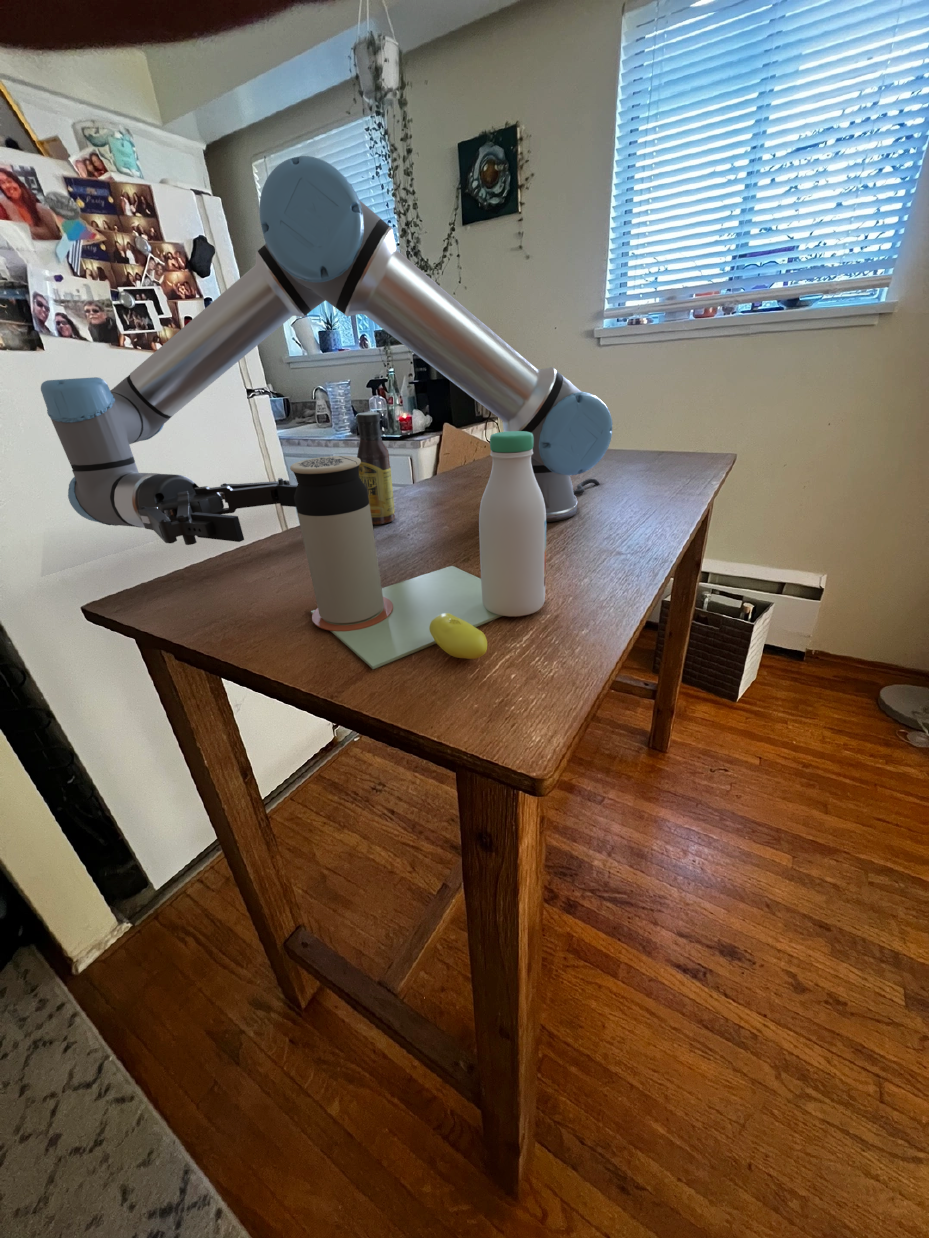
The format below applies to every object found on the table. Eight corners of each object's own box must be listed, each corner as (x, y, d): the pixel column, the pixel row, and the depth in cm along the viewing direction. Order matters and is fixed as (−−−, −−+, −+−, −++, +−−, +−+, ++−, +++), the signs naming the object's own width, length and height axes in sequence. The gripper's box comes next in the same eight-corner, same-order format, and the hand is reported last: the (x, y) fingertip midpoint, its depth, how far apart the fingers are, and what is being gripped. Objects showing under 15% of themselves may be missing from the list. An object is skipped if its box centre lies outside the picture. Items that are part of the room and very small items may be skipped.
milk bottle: (542, 619, 58) (546, 437, 49) (477, 616, 59) (468, 440, 50) (546, 591, 64) (550, 427, 55) (487, 589, 66) (481, 429, 57)
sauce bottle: (357, 522, 99) (340, 414, 89) (382, 515, 103) (368, 410, 93) (378, 528, 95) (362, 415, 85) (403, 520, 99) (391, 411, 89)
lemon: (451, 629, 57) (450, 599, 55) (497, 661, 51) (497, 628, 49) (420, 642, 55) (417, 611, 53) (465, 676, 49) (464, 643, 47)
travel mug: (326, 631, 58) (292, 473, 49) (314, 605, 64) (283, 461, 56) (392, 615, 61) (370, 462, 52) (374, 592, 67) (353, 452, 59)
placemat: (448, 566, 76) (447, 562, 75) (530, 604, 62) (530, 600, 62) (300, 613, 64) (299, 609, 64) (364, 673, 51) (363, 668, 50)
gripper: (240, 505, 80) (349, 513, 72) (80, 560, 60) (206, 580, 52) (227, 456, 76) (340, 459, 68) (53, 498, 57) (183, 509, 48)
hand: (282, 512), depth 60 cm, fingers open, 13 cm apart
